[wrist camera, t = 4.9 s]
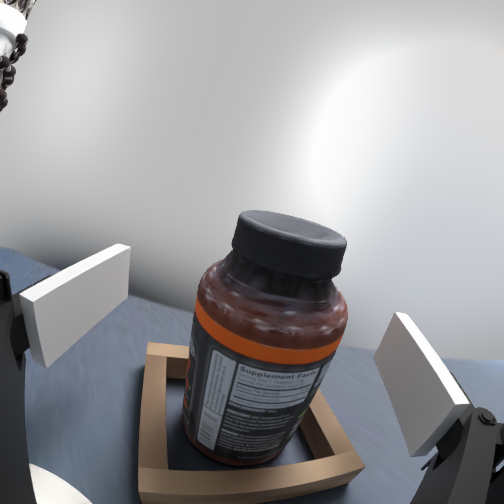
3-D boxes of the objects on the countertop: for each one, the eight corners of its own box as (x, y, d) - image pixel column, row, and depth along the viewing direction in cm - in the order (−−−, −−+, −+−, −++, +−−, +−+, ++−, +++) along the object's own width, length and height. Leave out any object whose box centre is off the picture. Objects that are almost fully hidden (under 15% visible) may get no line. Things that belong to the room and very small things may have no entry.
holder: (290, 370, 19) (297, 351, 19) (348, 483, 10) (365, 466, 9) (147, 363, 16) (148, 341, 16) (142, 504, 7) (138, 490, 7)
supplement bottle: (195, 380, 16) (228, 197, 13) (287, 401, 16) (351, 227, 13) (166, 453, 10) (189, 215, 7) (287, 478, 10) (401, 268, 7)
